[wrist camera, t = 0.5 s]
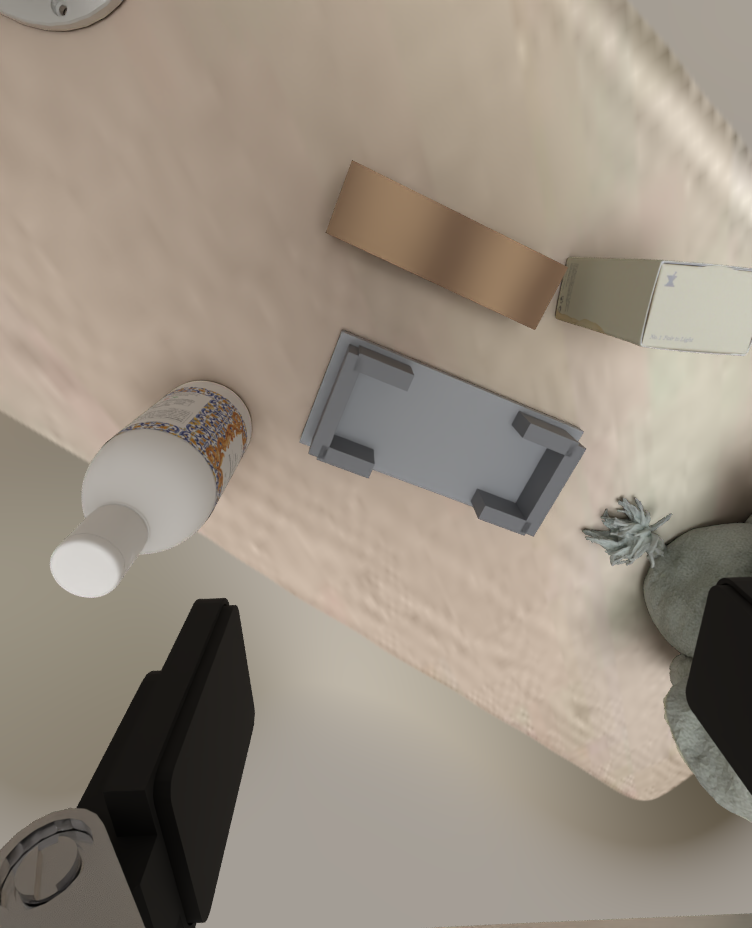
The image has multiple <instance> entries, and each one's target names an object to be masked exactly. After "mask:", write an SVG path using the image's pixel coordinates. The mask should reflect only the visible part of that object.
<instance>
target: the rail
mask: <svg viewBox="0 0 752 928" xmlns="http://www.w3.org/2000/svg"><path fill="white" fill-rule="evenodd" d="M582 434H583V431H582V430H581V429H580V428H578V427H576V426H573V425H571V424H569V423H566V422H564V421H561V420H559V419H557V418H554V417H552V416H549V415H547V414H544V413H542V412H540V411H537V410H535V409H532V408H530V407H528V406H525V405H523V404H520V403H518V402H516V401H513V400H511V399H508V398H506V397H504V396H501V395H499V394H496V393H494V392H492V391H489V390H487V389H484V388H482V387H480V386H477V385H475V384H472V383H470V382H468V381H465V380H463V379H460V378H458V377H455V376H453V375H451V374H448V373H446V372H443V371H441V370H439V369H436V368H434V367H431V366H429V365H427V364H424V363H422V362H419V361H417V360H415V359H412V358H410V357H407V356H405V355H403V354H400V353H398V352H395V351H393V350H391V349H388V348H386V347H383V346H381V345H378V344H376V343H374V342H371V341H369V340H366V339H364V338H362V337H359V336H357V335H354V334H352V333H350V332H347V331H345V330H342V332H341V334H340V337H339V339H338V342H337V345H336V347H335V350H334V352H333V355H332V358H331V360H330V363H329V365H328V368H327V371H326V373H325V376H324V379H323V381H322V384H321V386H320V389H319V392H318V394H317V397H316V399H315V402H314V405H313V407H312V410H311V412H310V415H309V418H308V420H307V423H306V425H305V428H304V431H303V433H302V436H301V439H300V443H302V444H305V445H308V446H310V449H309V453H308V454H311V455H313V456H316V457H317V460H320V461H322V462H325V463H328V464H330V465H333V466H336V467H339V468H341V469H344V470H347V471H350V472H352V473H355V474H358V475H360V476H363V477H366V478H369V476H370V474H371V472H372V470H375V471H378V472H381V473H383V474H386V475H389V476H391V477H394V478H397V479H399V480H402V481H405V482H408V483H410V484H413V485H416V486H418V487H421V488H424V489H426V490H429V491H432V492H435V493H437V494H440V495H443V496H445V497H448V498H451V499H453V500H456V501H459V502H461V503H464V504H467V505H470V506H472V507H473V508H474V510H475V512H476V515H477V517H478V519H480V520H483V521H486V522H489V523H491V524H494V525H497V526H499V527H502V528H505V529H508V530H510V531H513V532H516V533H518V534H521V535H524V536H525V534H528V535H531V536H534V535H535V533H536V532H537V530H538V528H539V527H540V525H541V523H542V522H543V520H544V518H545V517H546V515H547V513H548V512H549V510H550V508H551V507H552V505H553V503H554V502H555V500H556V498H557V497H558V495H559V493H560V492H561V490H562V488H563V487H564V485H565V483H566V482H567V480H568V478H569V477H570V475H571V474H572V472H573V470H574V469H575V467H576V465H577V464H578V462H579V460H580V459H581V457H582V455H583V454H584V452H585V450H586V448H585V447H584V446H582V445H581V444H580V443H579V442H578V441H579V439H580V437H581V436H582Z"/></svg>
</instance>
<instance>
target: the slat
mask: <svg viewBox="0 0 752 928" xmlns="http://www.w3.org/2000/svg"><path fill="white" fill-rule="evenodd" d="M326 233H327V234H329V235H332V236H334V237H336V238H338V239H340V240H342V241H345V242H347V243H349V244H351V245H353V246H355V247H357V248H360V249H362V250H364V251H366V252H368V253H370V254H373V255H375V256H377V257H379V258H381V259H383V260H385V261H388V262H390V263H392V264H394V265H396V266H398V267H400V268H403V269H405V270H407V271H409V272H411V273H413V274H416V275H418V276H420V277H422V278H424V279H426V280H428V281H431V282H433V283H435V284H437V285H439V286H441V287H444V288H446V289H448V290H450V291H452V292H454V293H456V294H459V295H461V296H463V297H465V298H467V299H469V300H471V301H474V302H476V303H478V304H480V305H482V306H484V307H487V308H489V309H491V310H493V311H495V312H497V313H499V314H502V315H504V316H506V317H508V318H510V319H512V320H515V321H517V322H519V323H521V324H523V325H525V326H527V327H530V328H532V329H534V330H535V329H536V327H537V325H538V323H539V321H540V320H541V318H542V316H543V314H544V312H545V310H546V308H547V306H548V305H549V303H550V301H551V299H552V297H553V295H554V293H555V291H556V290H557V288H558V286H559V284H560V282H561V280H562V278H563V276H564V275H565V273H566V271H567V269H568V267H567V266H565V265H563V264H561V263H559V262H557V261H555V260H552V259H550V258H548V257H546V256H544V255H542V254H540V253H538V252H536V251H534V250H532V249H530V248H528V247H526V246H524V245H522V244H520V243H518V242H516V241H514V240H512V239H510V238H508V237H506V236H504V235H502V234H500V233H498V232H496V231H494V230H492V229H490V228H488V227H486V226H484V225H482V224H480V223H478V222H476V221H474V220H472V219H470V218H468V217H466V216H464V215H462V214H460V213H458V212H456V211H454V210H452V209H450V208H448V207H446V206H444V205H442V204H440V203H438V202H436V201H433V200H431V199H429V198H427V197H425V196H423V195H421V194H419V193H417V192H415V191H413V190H411V189H409V188H407V187H405V186H403V185H401V184H399V183H397V182H395V181H393V180H391V179H389V178H387V177H385V176H383V175H381V174H379V173H377V172H375V171H373V170H371V169H369V168H367V167H365V166H363V165H361V164H359V163H357V162H355V161H353V160H352V162H351V165H350V167H349V170H348V173H347V175H346V178H345V181H344V184H343V186H342V189H341V192H340V195H339V197H338V200H337V203H336V206H335V208H334V211H333V214H332V217H331V219H330V222H329V225H328V228H327V230H326Z"/></svg>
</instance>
